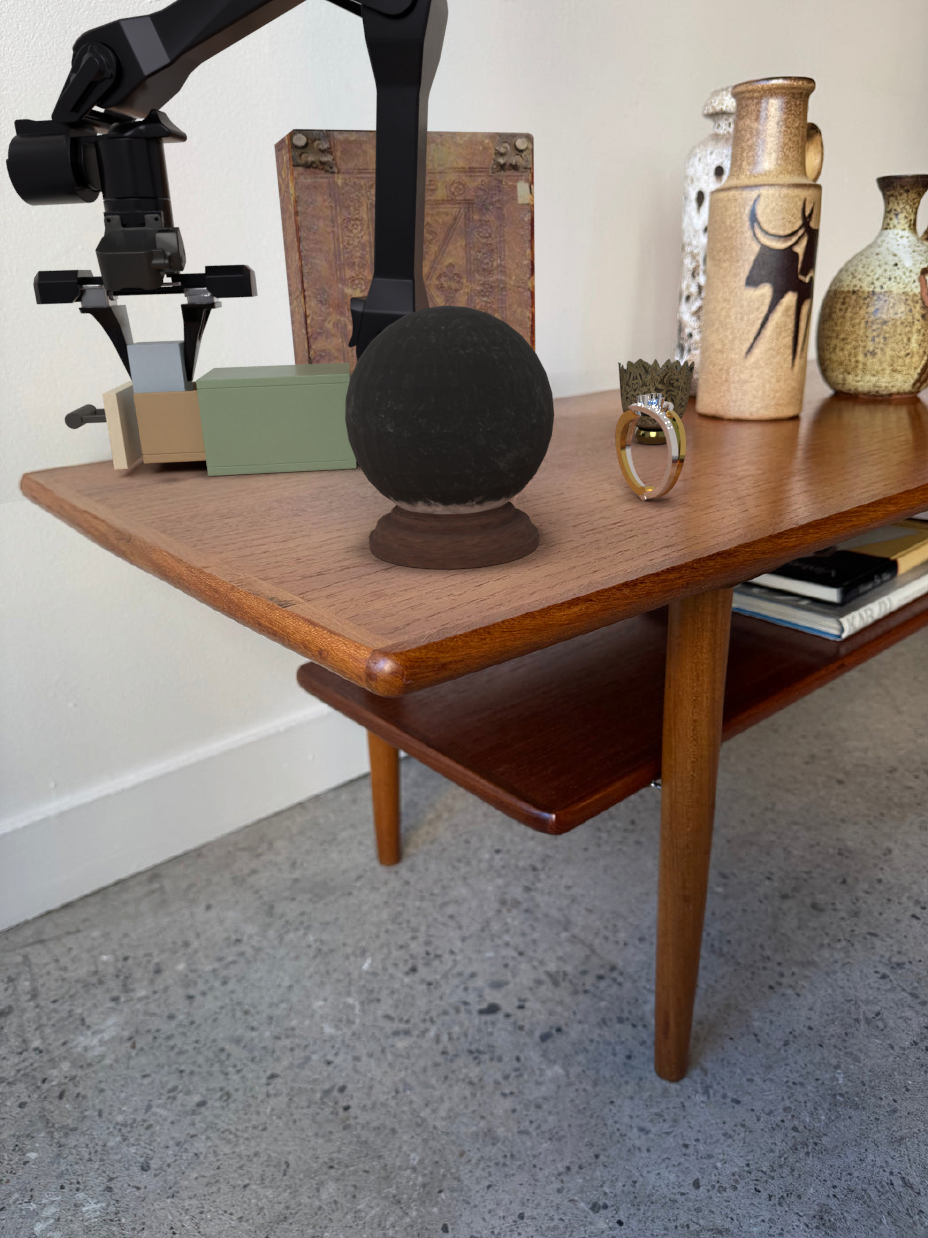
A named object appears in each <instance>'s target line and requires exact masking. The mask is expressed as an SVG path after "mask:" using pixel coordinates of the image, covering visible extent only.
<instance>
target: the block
mask: <svg viewBox="0 0 928 1238" xmlns="http://www.w3.org/2000/svg"><path fill="white" fill-rule="evenodd" d="M133 343H134V344H130V345H127V351H128V357H129V364H130V370H131V377H132V380H131V381H132V383H133V390H134V394H135V393H146V392H170V391H192V390H193V383H192V381H191V382H188V381H187V376H186V370H185V361H184V339H183V340H158V341H157V340H156V341H137V342H133Z"/></svg>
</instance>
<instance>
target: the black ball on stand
mask: <svg viewBox="0 0 928 1238" xmlns="http://www.w3.org/2000/svg"><path fill="white" fill-rule="evenodd" d="M536 352H537V351H536V350H535V351H534V350H533V349H532V347H531V346H530V345H529V344H528V343H527V341H526V340H525V339H524V338H523V336H522V335H520V334H519V333H518V332H517V331H516V330H514V329H513V328H512V327H511V326H509V325H508V324H507V323H506V322H504V321H502V320H500V319H498V318H496V317H494V316H493V315H491V314H489V313H486V312H483V311H479V310H475V309H472V308H468V307H461V306H439V307H431V308H425V309H422V310H419V311H416V312H413V313H410V314H408V315H405V316H403V317H402V318H400V319H398V320H397V321H395V322H394V323H392V324H390V325H389V326H387V327H386V328H385V329H384V330H383V331H382V332H381V333H380V334H378V335H377V336H376V337H375V338H374V339H373V340H372V341H371V342H370V344H369V345H368V346H367V348H366V349H365V351H364V352H363V354H362V355H361V356H360V358H359V359H358V362H357V364H356V366H355V368H354V371H353V373H352V375H351V378H350V381H349V386H348V390H347V395H346V402H345V422H346V428H347V434H348V440H349V443H350V445H351V448H352V450H353V453H354V456H355V458H356V464H357V465H358V466H359V468H360V470H361V471H362V473H363V474H364V476H365V478H366V479H367V481H368V482H369V483H370V484H371V485H372V486H373V487H374V488H375V489H376V490H377V492H379V493H380V494H381V496H383V497H385V498H386V499H388V500H389V501H390V502H392V503H394V504H395V506H393V508H392V509H391V510H390V512H388V513H386V514H384V515H382V516H381V517H380V518H378V520H377V522H376V525H375V528H374V529H372V531H370V533H369V535H368V542H369V543H368V544H369V551H370V553H371V554H372V555H373V556H374V557H376V558H378V559H379V560H382V561H384V562H387V563H390V564H393V565H398V566H403V567H408V568H419V569H433V570H458V569H459V570H460V569H462V570H463V569H472V568H482V567H488V566H495V565H499V564H504V563H509V562H513V561H515V560H518V559H522V558H524V557H526V556H528V555H529V554H531V553H533V552H534V551H535V550H536V549H537V547H538V546H539V528H538V527H537V526H536V525H535V524H534V523H532V519H531V518H530V516H529V514H528V513H526V512H525V511H523V510H522V509H520V508H516V506H515V505H514V503H512V502H511V500H512V499H513V498H515V497H516V496H517V495H519V494H520V493H521V492H522V491H523V490H524V489H525V487H526V486H527V485H528V484H529V483H530V482H531V480H532V479H533V478H534V476H535V475H536V474H537V472H538V471H539V468H540V467H541V466H542V463H543V462H544V460H545V457H546V455H547V453H548V450H549V446H550V443H551V440H552V437H553V430H554V421H555V406H554V396H553V391H552V387H551V384H550V381H549V377H548V374H547V371H546V369H545V367H544V365H543V363H542V362H541V360H540V357H539V356H538V353H536Z"/></svg>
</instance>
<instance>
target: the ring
mask: <svg viewBox="0 0 928 1238" xmlns="http://www.w3.org/2000/svg"><path fill="white" fill-rule="evenodd" d="M649 398H650V400H649ZM664 400H665V398H662V394H660V393H658V394H657V395H656V400H655V393H651V394H649V396H648V394H645V395H643V402H642V395H638V396H636V397H635V403H634V404H632V405H630V406H628V408H629V410H628V411H626V412H624V413H621V415H620V416H619V418H618V419H617V422H616V425H615V434H614V442H615V451H616V456H617V461H618V464H619V465H618V466H619V468H620V470H621V473H622V476H623V478H624V480H625V482H626V484H627V485H628V487H629V488H630V489H631V490H632V492H634V493H635V494H636V495H638V497H639V499H640V500H641V501H650V500H651V501H652V500H655V499H656V498H661V497H664V496H666V495H667V494H669V493H670V492H671V491H672V490H673V489H674V487H675V485H676V484H677V482H678V480H679V479H680V476H681V473H682V471H683V467H684V463H685V459H686V453H687V436H686V435H687V434H686V430H685V429H686V428H685V427H684V424H683V421H682V418H681V419H680V418H679V416H678V415H677V414H676V413H675V412H674V411H673V407H674V406H673V404H672V403H670V402H667V401H664ZM663 408H665V409H664V410H663ZM641 416H648V417H653V418H654V419H655V420H656V421H657V422H658V423H659V424H660V426H661V427H662V429H663V431H664V434H665V437H666V441H667V442H666V445H667V464H666V465H667V466H666V470H665V472H664V476H663V477H662V480H661V482H660V483H659V484H658V485H657V486H656V487H655V486H654V485H651V484H650V485H646V484H644V483H643V481H642V480H641V479H640V477H639V475H638V474H637V471H636V469H635V466H634V462H633V457H632V440H633V435H634V432H635V429H636V428H635V427H636V426H635V425H636V423H637V421H638V420H639V418H640V417H641Z"/></svg>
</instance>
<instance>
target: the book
mask: <svg viewBox="0 0 928 1238" xmlns="http://www.w3.org/2000/svg"><path fill="white" fill-rule="evenodd" d="M534 139H535V138H534V135H533V134H532V133H530V132H507V131H505V132H504V131H503V132H501V131H500V132H499V131H447V130H446V131H443V130H441V131H440V130H427V155H426V184H425V214H424V244H423V281H424V285H425V289H426V293H427V298H428V302H429V306H430V308H431V307H439V306H461V307H468V308H472V309H475V310H479V311H483V312H486V313H489V314H491V315H493V316H494V317H496V318H498V319H500V320H502V321H504V322H506V323H507V324H508V325H509V326H511V327H512V328H513V329H514V330H516V331H517V332H518V333H519V334H520V335H522V336H523V338H524V339H525V340H526V341H527V343H528V344H529V345H530V346H531V347H532V349H533V350H534V351H535V352H536V265H535V264H536V261H535V260H536V256H535V255H536V252H535V250H536V249H535V248H536V247H535V245H536V244H535V141H534ZM273 145H274V146H273V147H274V156H275V157H274V158H275V166H276V167H275V168H276V177H277V188H278V198H279V200H278V201H279V208H280V209H279V210H280V220H281V231H282V241H283V242H282V243H283V251H284V262H285V273H286V283H287V293H288V304H289V315H290V325H291V336H292V337H291V338H292V347H293V356H294V357H293V358H294V365H301V364H326V363H350V375H352V373H353V371H354V368H355V366H356V364H357V357H356V346H355V347H351V348H350V347H349V346H348V344H349V341H350V339H351V336H352V329H353V324H352V316H351V310H350V299H351V298H352V297H360V296H367V295H368V291H369V288H370V285H371V282H372V278H373V273H374V227H375V161H376V129H372V130H371V129H322V128H321V129H320V128H318V129H317V128H316V129H315V128H293V129H291V130H290V131H289V132H288V133H287V134H286V135H284V136H283V137H282V138H280V139H279V140H278V141H276V142H275V144H273Z"/></svg>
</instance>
